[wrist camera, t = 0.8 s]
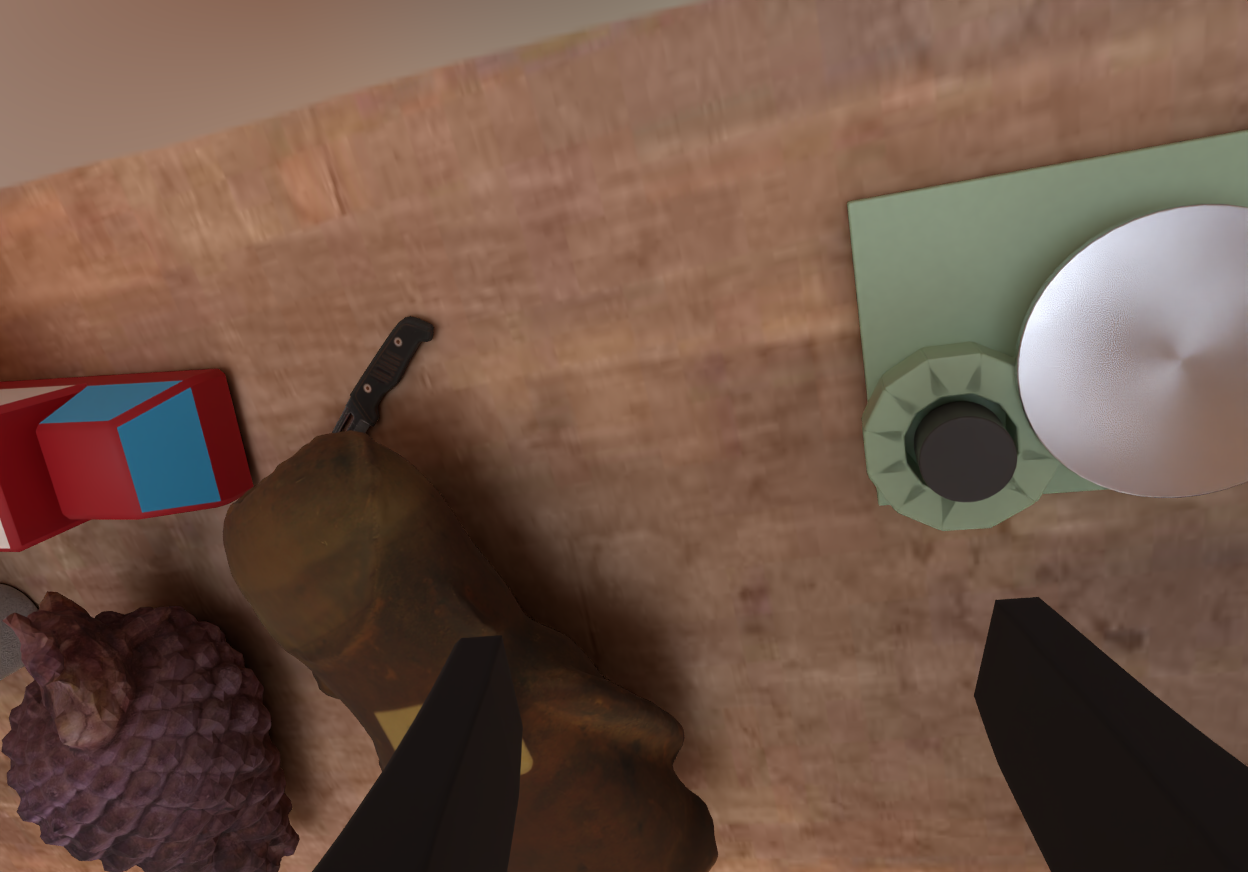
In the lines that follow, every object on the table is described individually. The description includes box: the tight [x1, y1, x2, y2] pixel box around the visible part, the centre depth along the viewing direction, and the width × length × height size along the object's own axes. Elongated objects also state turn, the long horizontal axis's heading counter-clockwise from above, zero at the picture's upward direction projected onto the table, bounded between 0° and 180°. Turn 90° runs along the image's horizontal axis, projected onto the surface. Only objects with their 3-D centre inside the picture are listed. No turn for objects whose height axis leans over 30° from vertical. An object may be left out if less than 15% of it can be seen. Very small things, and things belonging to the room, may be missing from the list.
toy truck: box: [0, 369, 254, 552], centre depth 33 cm, size 6×15×7 cm, turn 96°
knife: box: [332, 316, 434, 433], centre depth 33 cm, size 16×1×3 cm
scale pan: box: [1014, 203, 1248, 498], centre depth 21 cm, size 8×8×1 cm
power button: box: [914, 401, 1017, 502], centre depth 23 cm, size 3×3×2 cm
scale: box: [847, 129, 1248, 531], centre depth 23 cm, size 12×10×3 cm
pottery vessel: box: [223, 430, 718, 872], centre depth 30 cm, size 12×20×8 cm, turn 34°
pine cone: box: [2, 592, 300, 872], centre depth 35 cm, size 18×10×10 cm
